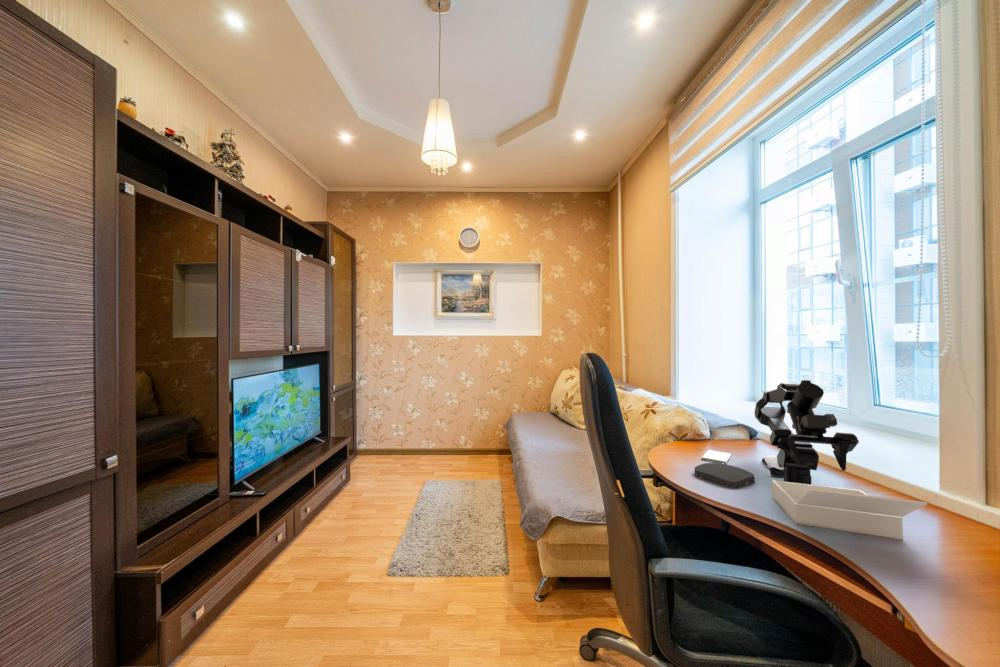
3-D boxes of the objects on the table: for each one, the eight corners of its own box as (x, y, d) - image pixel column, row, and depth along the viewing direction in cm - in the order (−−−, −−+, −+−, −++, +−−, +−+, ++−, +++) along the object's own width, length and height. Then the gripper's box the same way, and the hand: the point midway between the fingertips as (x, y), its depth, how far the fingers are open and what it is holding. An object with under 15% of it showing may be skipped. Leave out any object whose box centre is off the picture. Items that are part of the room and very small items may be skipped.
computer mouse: (782, 463, 132) (782, 452, 133) (807, 481, 115) (807, 469, 115) (751, 460, 136) (751, 450, 136) (771, 478, 118) (771, 466, 118)
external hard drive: (701, 461, 136) (707, 453, 145) (726, 466, 130) (731, 457, 140) (701, 457, 136) (707, 449, 145) (726, 461, 130) (731, 453, 140)
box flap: (796, 501, 88) (809, 488, 81) (901, 515, 81) (926, 502, 74) (796, 503, 88) (810, 490, 81) (902, 517, 81) (927, 504, 74)
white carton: (772, 497, 103) (771, 480, 103) (861, 508, 96) (860, 490, 96) (795, 524, 88) (795, 503, 88) (903, 539, 81) (902, 517, 81)
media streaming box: (689, 475, 121) (689, 466, 121) (715, 467, 128) (714, 459, 128) (734, 491, 108) (734, 481, 108) (759, 482, 115) (759, 472, 115)
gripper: (772, 400, 104) (788, 449, 93) (854, 404, 97) (881, 457, 86) (763, 421, 111) (777, 469, 100) (839, 426, 104) (862, 477, 94)
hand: (822, 468), depth 95 cm, fingers open, 9 cm apart
